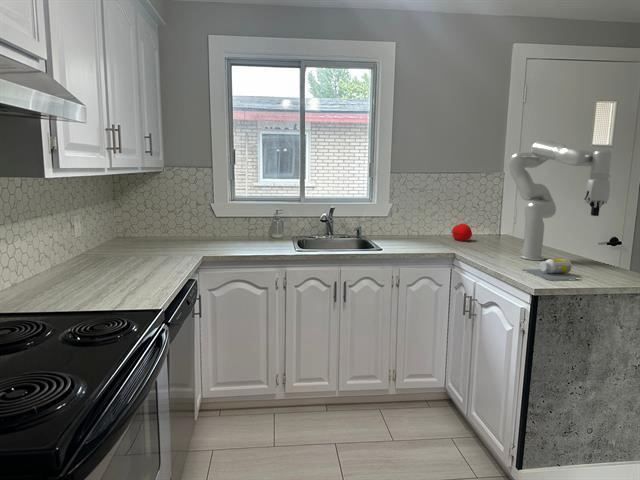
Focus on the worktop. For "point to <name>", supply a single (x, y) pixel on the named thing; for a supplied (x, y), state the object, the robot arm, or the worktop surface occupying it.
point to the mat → (550, 274)
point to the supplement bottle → (556, 266)
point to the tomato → (461, 232)
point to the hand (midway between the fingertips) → (594, 215)
